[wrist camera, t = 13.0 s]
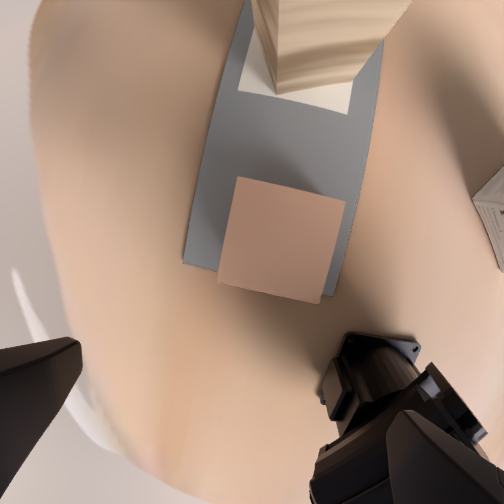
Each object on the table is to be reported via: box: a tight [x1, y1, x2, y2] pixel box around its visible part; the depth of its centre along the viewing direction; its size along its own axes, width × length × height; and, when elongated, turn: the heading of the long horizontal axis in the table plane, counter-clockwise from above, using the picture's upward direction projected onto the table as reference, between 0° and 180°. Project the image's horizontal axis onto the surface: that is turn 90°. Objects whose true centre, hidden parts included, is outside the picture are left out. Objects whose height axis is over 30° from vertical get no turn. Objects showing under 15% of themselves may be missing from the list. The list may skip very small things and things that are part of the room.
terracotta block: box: [216, 176, 346, 304], centre depth 16 cm, size 5×5×5 cm
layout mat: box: [183, 0, 384, 297], centre depth 17 cm, size 10×20×1 cm, turn 168°
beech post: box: [251, 0, 413, 95], centre depth 10 cm, size 5×5×13 cm
